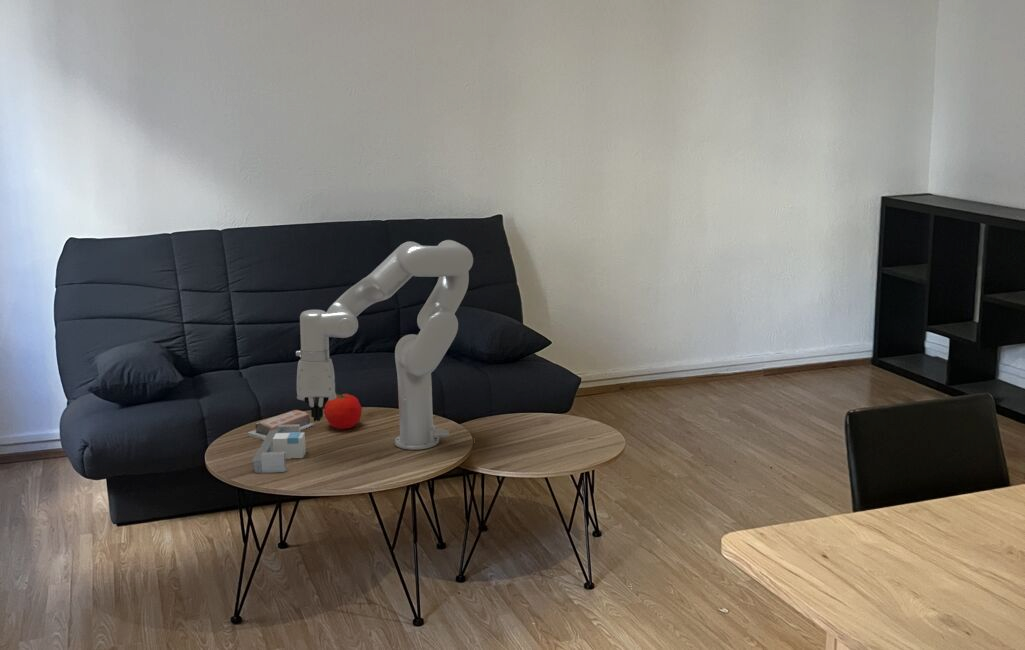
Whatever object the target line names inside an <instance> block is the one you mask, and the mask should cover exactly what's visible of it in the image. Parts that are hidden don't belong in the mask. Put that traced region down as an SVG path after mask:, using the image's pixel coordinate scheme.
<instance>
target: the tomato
mask: <svg viewBox="0 0 1025 650" xmlns="http://www.w3.org/2000/svg"><path fill="white" fill-rule="evenodd" d="M335 393H336V392H335ZM362 412H363V411H362V406H361V404H360V402H359V399H358V398H357V397H355V395H351V394H350V392H348V393H343V394H339V393H336V399H334V400H330V401H327V402H326V403H325V404H324V407H323V415H324V417H325V419H326V420H327V422H328V424H329V425H330V426H331V427H333V428H334V429H338V430H345V429H346V430H347V429H351V428H353V427H354V426H356V425H357V424H358V423H359V421H360V420H361V417H362Z"/></svg>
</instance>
